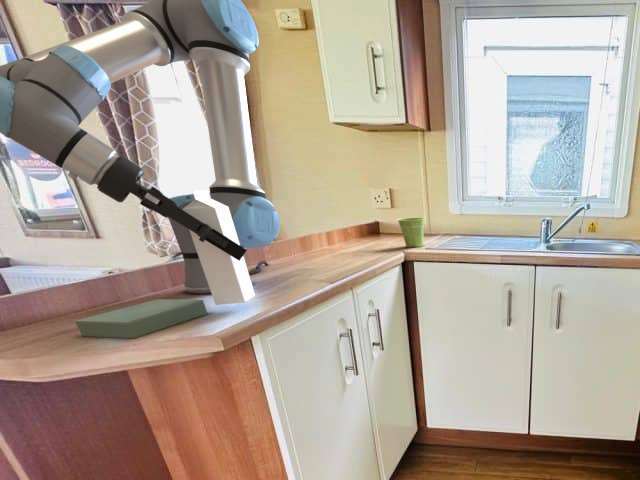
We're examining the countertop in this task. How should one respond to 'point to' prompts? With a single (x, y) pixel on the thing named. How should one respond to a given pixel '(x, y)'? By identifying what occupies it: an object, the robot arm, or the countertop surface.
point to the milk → (220, 252)
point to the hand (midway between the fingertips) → (239, 253)
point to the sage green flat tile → (141, 318)
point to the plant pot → (412, 231)
